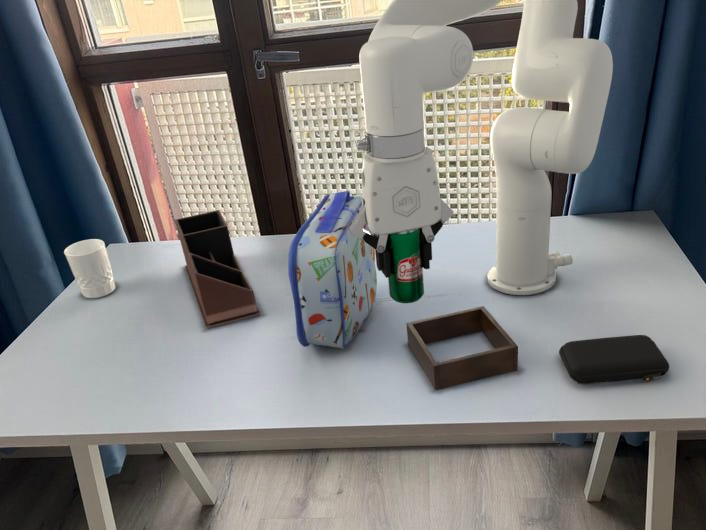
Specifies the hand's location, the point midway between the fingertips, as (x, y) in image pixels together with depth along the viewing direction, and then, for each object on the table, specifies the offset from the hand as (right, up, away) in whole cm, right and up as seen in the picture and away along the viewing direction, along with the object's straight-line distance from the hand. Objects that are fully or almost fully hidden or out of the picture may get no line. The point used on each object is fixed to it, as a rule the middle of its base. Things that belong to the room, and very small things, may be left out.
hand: (404, 268), depth 100 cm
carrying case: (+32, -15, +6) cm, 36 cm away
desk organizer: (-35, +1, +42) cm, 54 cm away
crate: (+10, -13, +13) cm, 21 cm away
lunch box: (-10, -6, +27) cm, 29 cm away
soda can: (0, -4, +3) cm, 5 cm away
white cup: (-62, +1, +47) cm, 77 cm away
